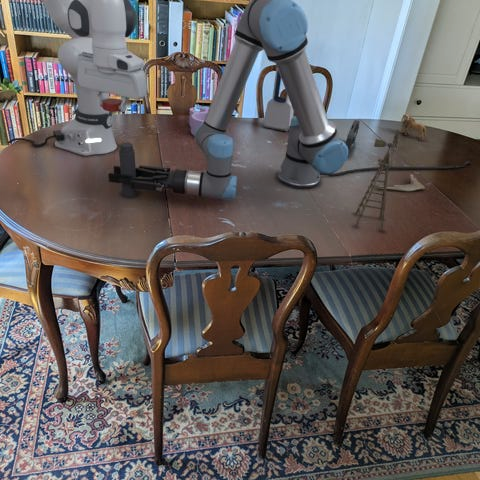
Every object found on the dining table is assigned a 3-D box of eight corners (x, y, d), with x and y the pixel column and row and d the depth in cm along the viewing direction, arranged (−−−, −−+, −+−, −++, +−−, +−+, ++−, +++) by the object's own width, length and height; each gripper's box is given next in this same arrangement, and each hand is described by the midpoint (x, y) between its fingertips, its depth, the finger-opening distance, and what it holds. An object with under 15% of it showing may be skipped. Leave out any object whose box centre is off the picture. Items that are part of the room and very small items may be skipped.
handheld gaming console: (349, 160, 187) (354, 136, 182) (342, 158, 188) (347, 134, 183) (355, 142, 206) (361, 119, 201) (349, 140, 207) (354, 118, 201)
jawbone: (429, 189, 172) (431, 184, 171) (394, 201, 161) (396, 196, 160) (410, 177, 177) (412, 172, 176) (375, 189, 167) (376, 184, 165)
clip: (182, 123, 206) (183, 107, 202) (209, 122, 210) (210, 106, 207) (197, 140, 191) (197, 123, 187) (225, 138, 195) (226, 122, 191)
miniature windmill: (382, 232, 141) (411, 137, 125) (354, 227, 142) (379, 132, 126) (381, 217, 149) (408, 126, 133) (354, 213, 150) (378, 122, 134)
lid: (126, 108, 132) (125, 101, 131) (114, 113, 128) (113, 105, 127) (111, 104, 134) (110, 96, 133) (98, 108, 130) (98, 101, 129)
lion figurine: (395, 132, 222) (400, 114, 217) (400, 130, 225) (405, 112, 220) (425, 142, 214) (431, 123, 209) (429, 139, 218) (435, 120, 213)
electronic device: (292, 127, 214) (303, 59, 198) (288, 132, 208) (299, 62, 192) (266, 122, 217) (275, 54, 201) (262, 127, 211) (270, 57, 194)
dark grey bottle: (121, 191, 148) (117, 142, 139) (135, 189, 150) (132, 141, 141) (123, 197, 145) (119, 148, 136) (138, 196, 146) (135, 146, 137)
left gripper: (69, 52, 124) (74, 104, 131) (136, 66, 118) (137, 119, 126) (84, 48, 129) (88, 98, 136) (149, 62, 123) (149, 113, 131)
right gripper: (181, 206, 138) (103, 197, 139) (190, 181, 153) (120, 173, 153) (181, 184, 134) (101, 174, 134) (191, 160, 149) (119, 151, 149)
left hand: (112, 108), depth 131 cm, fingers closed on lid, 5 cm apart
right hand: (111, 173), depth 144 cm, fingers closed on dark grey bottle, 5 cm apart
